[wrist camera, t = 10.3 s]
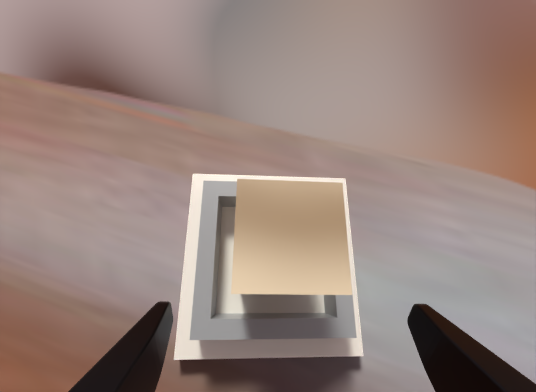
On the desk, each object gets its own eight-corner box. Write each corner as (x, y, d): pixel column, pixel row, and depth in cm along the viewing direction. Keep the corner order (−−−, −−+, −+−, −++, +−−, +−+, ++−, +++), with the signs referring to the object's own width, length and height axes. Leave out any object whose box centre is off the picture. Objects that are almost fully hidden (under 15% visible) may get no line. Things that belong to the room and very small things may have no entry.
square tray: (355, 351, 17) (383, 369, 14) (178, 354, 16) (160, 374, 13) (340, 184, 21) (358, 164, 17) (196, 179, 20) (185, 158, 17)
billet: (300, 288, 17) (352, 295, 8) (239, 287, 17) (231, 293, 8) (298, 228, 18) (342, 182, 10) (242, 227, 18) (237, 178, 9)
